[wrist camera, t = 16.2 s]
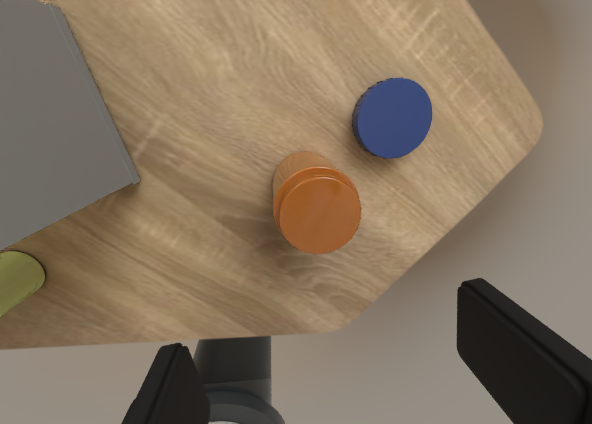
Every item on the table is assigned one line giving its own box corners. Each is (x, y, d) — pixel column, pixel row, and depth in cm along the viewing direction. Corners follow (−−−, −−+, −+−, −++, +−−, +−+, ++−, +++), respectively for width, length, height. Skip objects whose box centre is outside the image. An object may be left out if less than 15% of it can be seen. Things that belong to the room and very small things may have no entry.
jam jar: (335, 212, 29) (363, 256, 20) (273, 215, 29) (275, 262, 20) (337, 150, 27) (370, 169, 18) (270, 152, 26) (271, 172, 17)
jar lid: (353, 79, 25) (359, 77, 23) (427, 79, 25) (438, 76, 24) (350, 157, 27) (355, 160, 26) (418, 155, 28) (426, 157, 26)
